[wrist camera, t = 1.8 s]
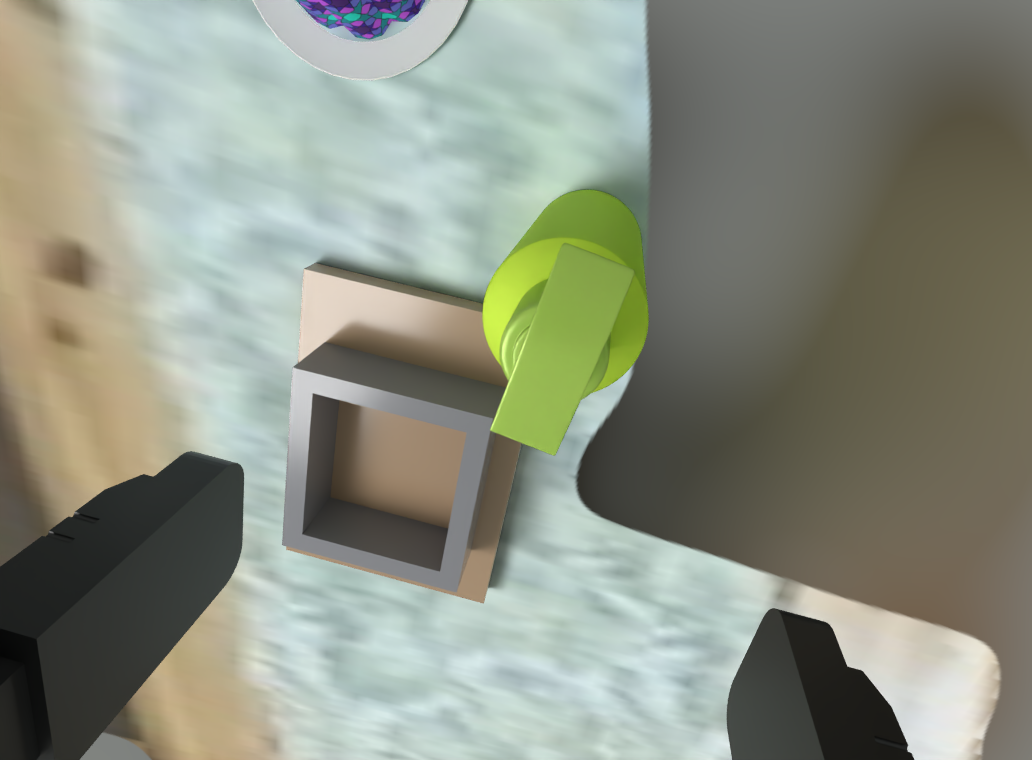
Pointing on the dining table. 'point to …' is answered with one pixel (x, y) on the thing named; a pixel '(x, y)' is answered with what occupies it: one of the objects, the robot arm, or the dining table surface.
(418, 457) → the soap caddy
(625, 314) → the soap dispenser
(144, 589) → the robot arm
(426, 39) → the pudding
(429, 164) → the dining table surface
